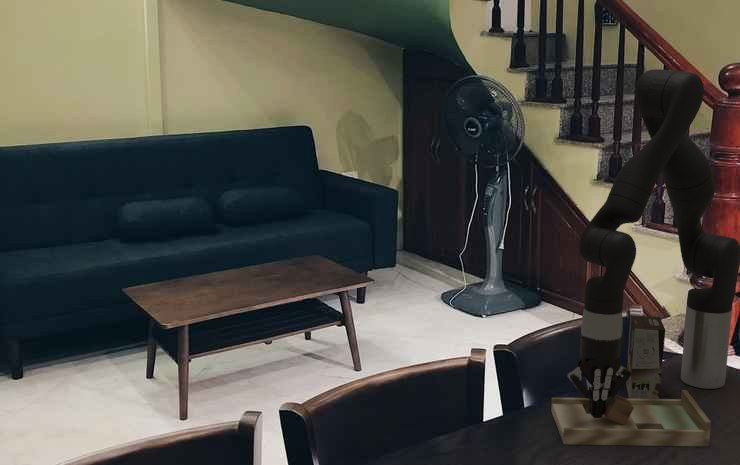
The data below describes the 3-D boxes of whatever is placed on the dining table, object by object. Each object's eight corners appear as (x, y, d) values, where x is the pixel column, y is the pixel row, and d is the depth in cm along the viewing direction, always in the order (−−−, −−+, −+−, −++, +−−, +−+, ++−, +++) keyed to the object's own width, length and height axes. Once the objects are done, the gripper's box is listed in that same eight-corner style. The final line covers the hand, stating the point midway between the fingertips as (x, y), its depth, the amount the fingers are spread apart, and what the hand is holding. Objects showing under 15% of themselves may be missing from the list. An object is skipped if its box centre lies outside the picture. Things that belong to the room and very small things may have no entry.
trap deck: (563, 444, 165) (564, 419, 164) (551, 411, 179) (552, 388, 178) (708, 446, 164) (711, 421, 163) (684, 413, 178) (686, 390, 177)
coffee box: (660, 403, 183) (666, 330, 179) (628, 400, 184) (633, 328, 181) (655, 386, 192) (661, 316, 188) (625, 383, 193) (629, 314, 189)
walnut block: (599, 409, 172) (608, 391, 171) (616, 416, 172) (626, 398, 172) (606, 418, 168) (616, 400, 167) (624, 425, 168) (634, 407, 168)
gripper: (624, 323, 171) (618, 405, 175) (560, 327, 168) (556, 411, 172) (643, 336, 164) (636, 421, 168) (577, 340, 161) (572, 427, 165)
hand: (596, 416), depth 170 cm, fingers closed
